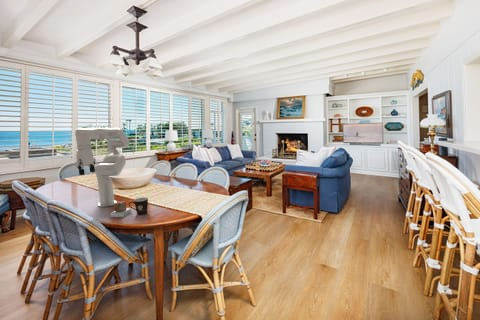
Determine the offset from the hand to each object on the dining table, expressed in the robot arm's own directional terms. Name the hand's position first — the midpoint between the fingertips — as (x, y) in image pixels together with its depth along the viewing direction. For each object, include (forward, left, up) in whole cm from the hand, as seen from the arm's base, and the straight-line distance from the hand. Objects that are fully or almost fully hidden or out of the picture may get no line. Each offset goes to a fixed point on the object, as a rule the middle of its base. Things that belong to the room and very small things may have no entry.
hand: (87, 173), depth 151 cm
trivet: (+11, +18, -28) cm, 35 cm away
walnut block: (+11, +18, -26) cm, 33 cm away
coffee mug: (+16, +29, -28) cm, 44 cm away
